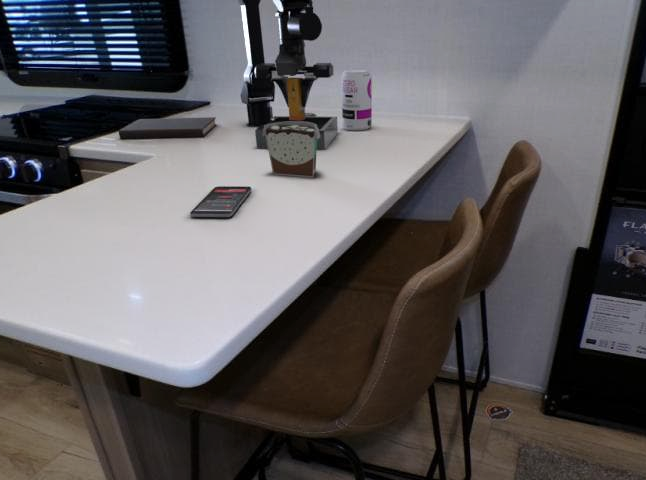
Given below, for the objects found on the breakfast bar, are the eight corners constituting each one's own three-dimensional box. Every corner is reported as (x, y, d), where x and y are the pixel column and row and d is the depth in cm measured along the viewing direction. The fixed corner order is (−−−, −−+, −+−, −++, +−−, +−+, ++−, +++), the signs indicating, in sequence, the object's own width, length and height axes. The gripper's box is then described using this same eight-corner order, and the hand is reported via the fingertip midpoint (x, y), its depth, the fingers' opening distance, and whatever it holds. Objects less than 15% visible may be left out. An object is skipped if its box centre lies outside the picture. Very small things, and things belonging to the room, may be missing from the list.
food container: (330, 170, 113) (328, 122, 108) (320, 178, 108) (317, 128, 103) (279, 166, 117) (275, 119, 112) (266, 173, 112) (261, 125, 107)
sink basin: (257, 148, 131) (254, 129, 129) (276, 132, 146) (274, 116, 144) (324, 149, 128) (324, 130, 126) (337, 133, 143) (337, 116, 141)
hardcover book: (140, 127, 157) (138, 119, 156) (216, 125, 157) (215, 117, 156) (120, 139, 143) (117, 130, 142) (203, 137, 143) (202, 128, 142)
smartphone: (252, 186, 101) (230, 214, 88) (252, 190, 102) (231, 218, 89) (215, 186, 102) (188, 213, 89) (216, 189, 102) (189, 217, 89)
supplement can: (372, 124, 152) (372, 68, 145) (370, 131, 145) (370, 72, 137) (344, 124, 153) (343, 69, 145) (341, 131, 146) (339, 72, 138)
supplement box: (306, 118, 135) (304, 77, 130) (300, 121, 132) (297, 78, 127) (295, 117, 136) (292, 76, 131) (288, 120, 134) (285, 78, 129)
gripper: (243, 41, 120) (251, 113, 127) (323, 41, 117) (326, 113, 125) (258, 38, 129) (265, 104, 137) (332, 37, 126) (335, 105, 134)
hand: (296, 107), depth 133 cm, fingers closed on supplement box, 4 cm apart
